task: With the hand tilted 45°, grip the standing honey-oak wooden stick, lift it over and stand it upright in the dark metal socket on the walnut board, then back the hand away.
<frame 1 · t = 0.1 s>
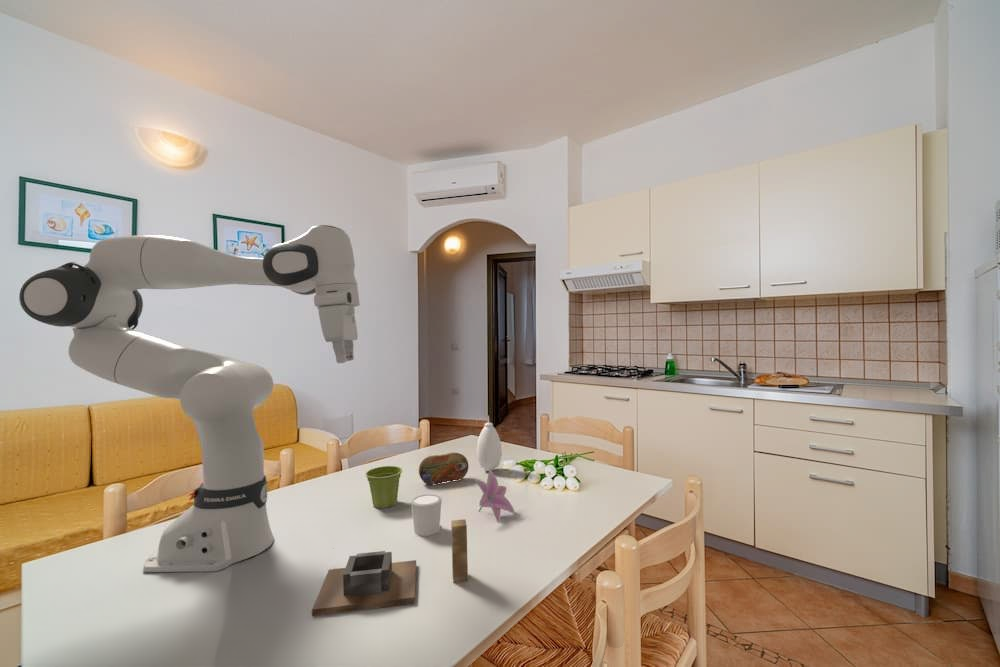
hand: (345, 361, 96), 39 cm above the table, tool pointing down, fingers open, 8 cm apart
lily: (493, 515, 106), on the table
wooden stick: (460, 577, 79), on the table
socket board: (369, 588, 76), on the table
tin: (443, 482, 131), on the table
white cup: (426, 531, 99), on the table
sauce bottle: (489, 471, 140), on the table
plant pot: (384, 504, 114), on the table
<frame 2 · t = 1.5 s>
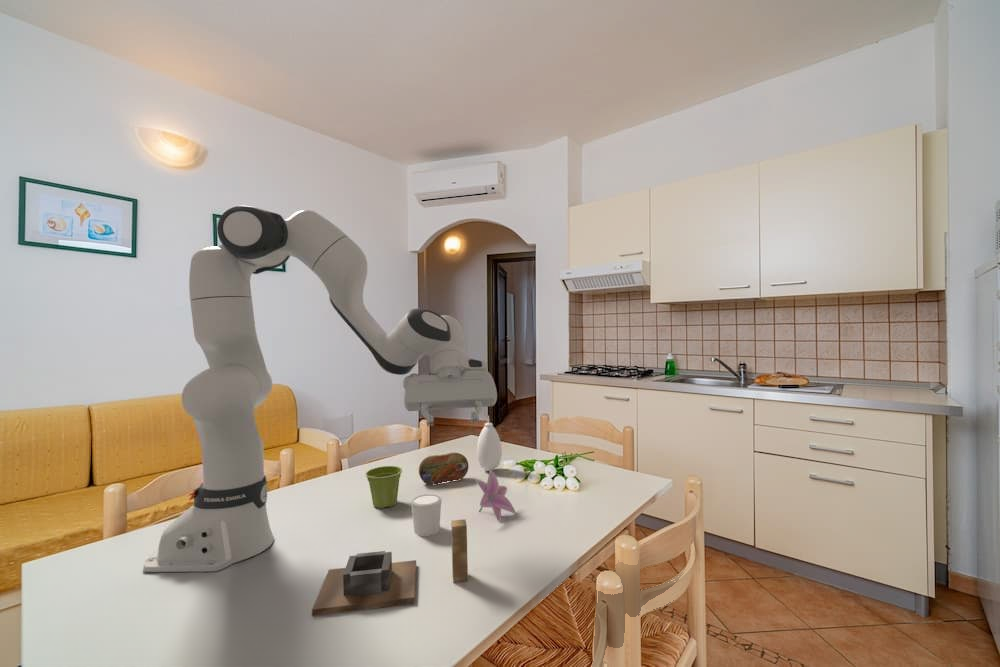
hand: (453, 422, 91), 26 cm above the table, tool tilted 45°, fingers open, 8 cm apart
nothing on the table moved.
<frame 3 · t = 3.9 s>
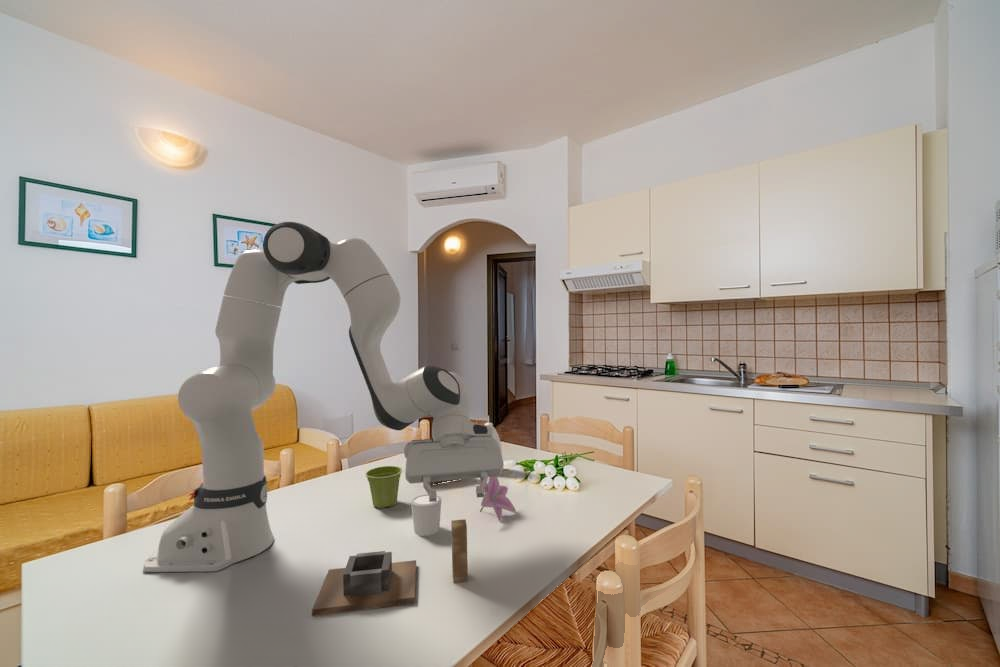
hand: (457, 498, 86), 12 cm above the table, tool tilted 45°, fingers open, 8 cm apart
nothing on the table moved.
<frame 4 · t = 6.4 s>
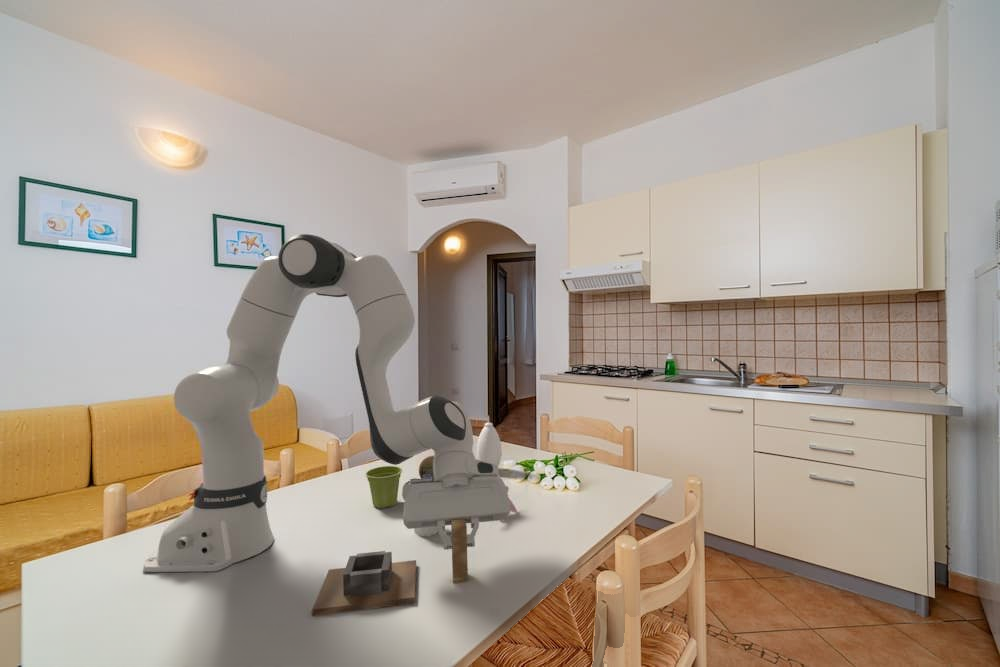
hand: (459, 547, 78), 6 cm above the table, tool tilted 45°, fingers closed on wooden stick, 3 cm apart
wooden stick: (460, 577, 79), on the table, touching gripper
everything else where it was.
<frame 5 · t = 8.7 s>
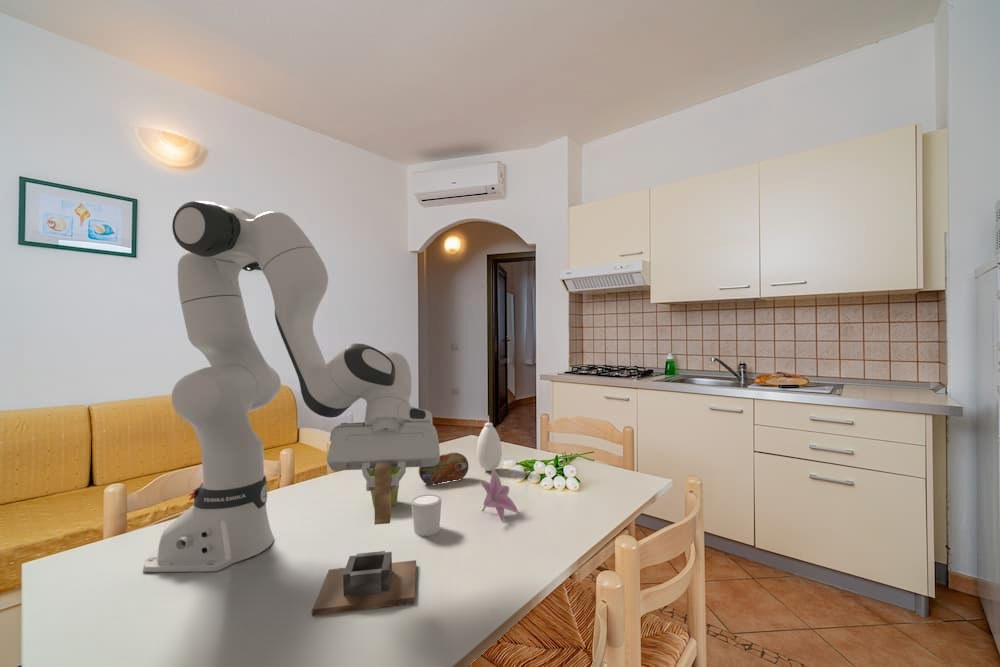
hand: (382, 488, 76), 17 cm above the table, tool tilted 45°, fingers closed on wooden stick, 3 cm apart
wooden stick: (382, 520, 77), point 12 cm above the table, touching gripper
everything else where it was.
when the fingers open (8 cm above the table, at t = 10.9 s): wooden stick drops 1 cm, resting on socket board.
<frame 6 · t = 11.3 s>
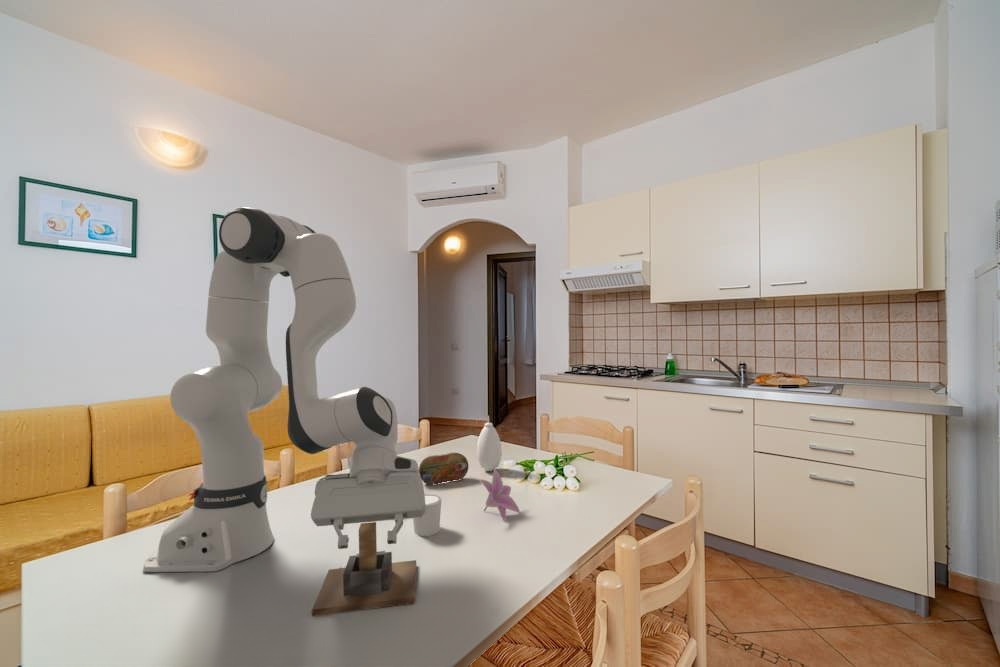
hand: (367, 545, 76), 8 cm above the table, tool tilted 45°, fingers open, 7 cm apart
wooden stick: (368, 582, 76), point 1 cm above the table, touching socket board
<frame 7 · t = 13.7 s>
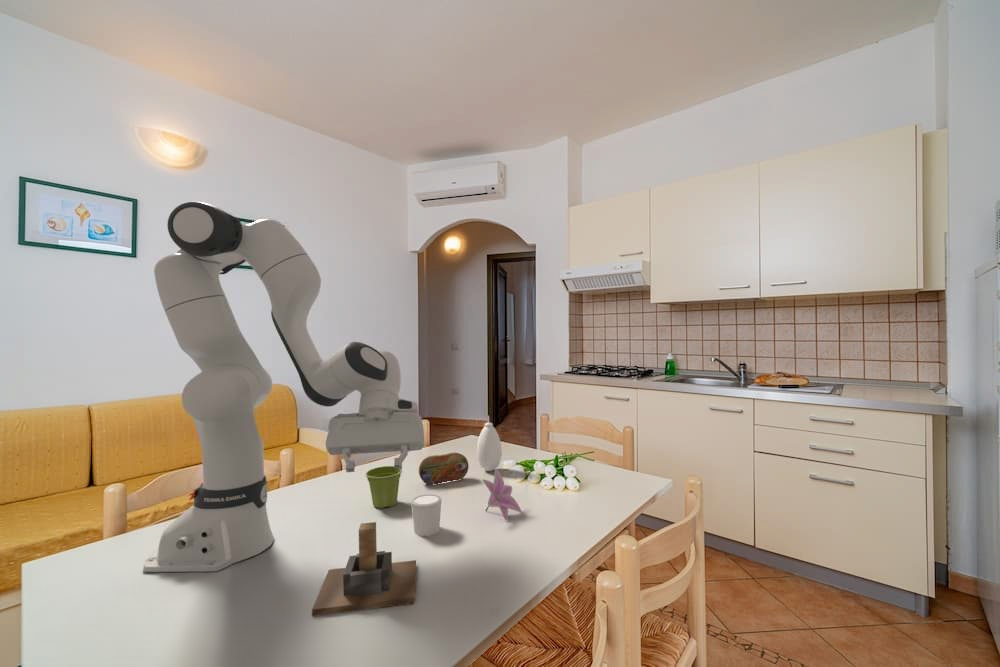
hand: (374, 469, 88), 17 cm above the table, tool tilted 45°, fingers open, 8 cm apart
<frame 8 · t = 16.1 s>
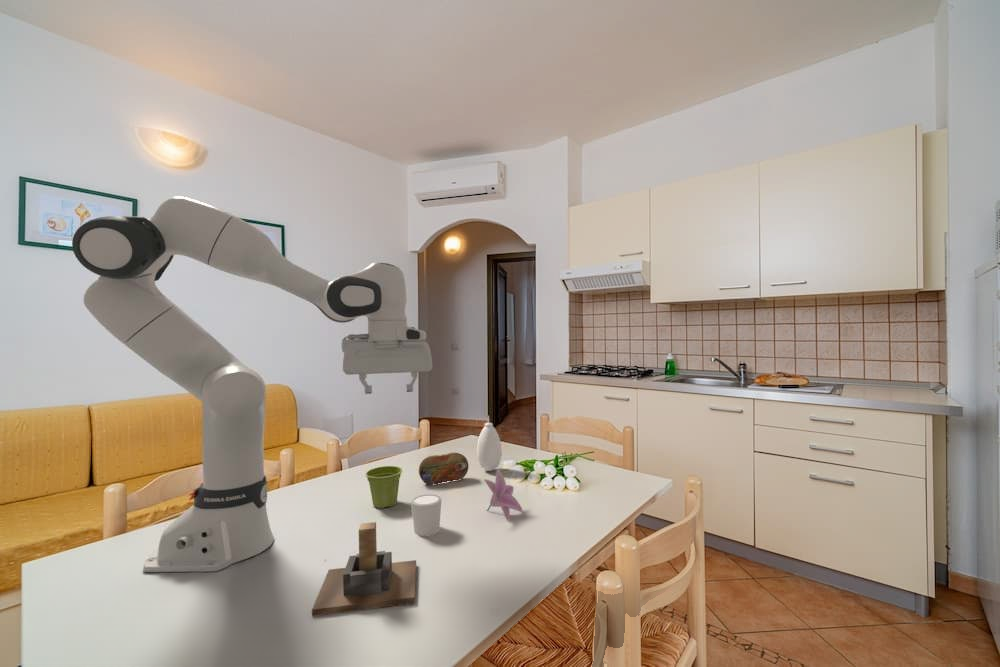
hand: (389, 392, 101), 31 cm above the table, tool pointing down, fingers open, 8 cm apart
at the end: wooden stick 0.1 cm off-centre on the socket board, point 1.0 cm above the socket board's base; wooden stick tilted 0°; the gripper is holding nothing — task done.
